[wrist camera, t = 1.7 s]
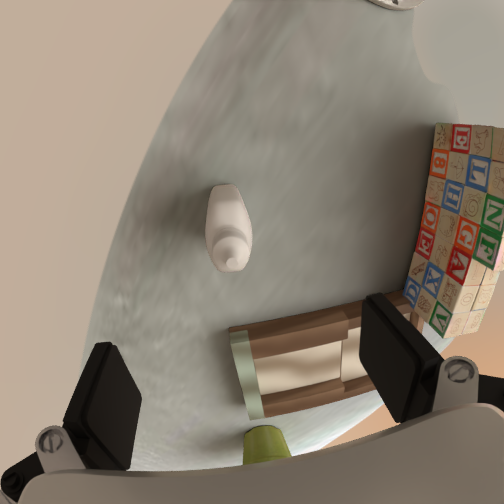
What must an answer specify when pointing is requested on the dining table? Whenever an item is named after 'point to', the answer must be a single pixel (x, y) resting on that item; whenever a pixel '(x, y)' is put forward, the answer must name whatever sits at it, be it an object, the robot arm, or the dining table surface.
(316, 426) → the dining table surface
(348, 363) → the divided wooden tray
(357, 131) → the dining table surface
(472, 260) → the stack of blocks
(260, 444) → the plant pot
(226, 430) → the dining table surface
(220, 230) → the eye dropper bottle
